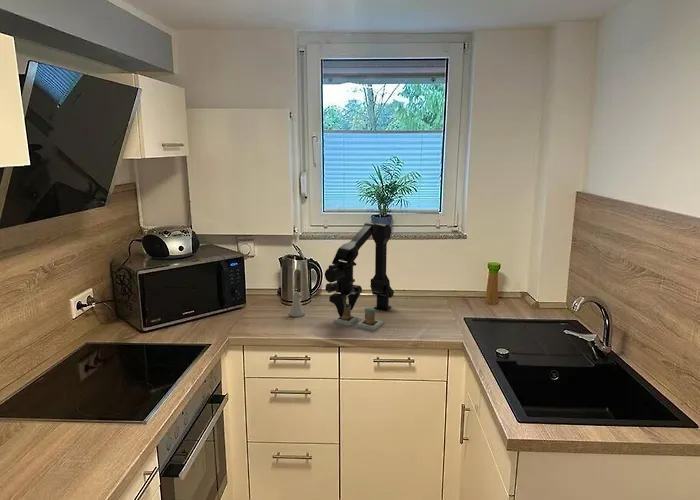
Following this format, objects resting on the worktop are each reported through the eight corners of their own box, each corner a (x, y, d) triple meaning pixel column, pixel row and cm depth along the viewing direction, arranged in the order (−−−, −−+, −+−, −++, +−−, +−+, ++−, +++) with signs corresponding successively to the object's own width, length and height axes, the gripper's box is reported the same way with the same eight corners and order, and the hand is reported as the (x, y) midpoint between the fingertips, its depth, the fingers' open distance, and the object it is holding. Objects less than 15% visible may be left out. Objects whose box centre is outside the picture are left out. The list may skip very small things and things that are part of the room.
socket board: (343, 317, 221) (343, 312, 220) (385, 325, 212) (385, 319, 212) (329, 326, 210) (329, 320, 210) (373, 335, 202) (373, 329, 201)
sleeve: (343, 318, 216) (343, 303, 215) (352, 320, 214) (352, 304, 213) (339, 322, 213) (339, 306, 211) (347, 323, 211) (348, 307, 209)
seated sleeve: (367, 323, 211) (367, 307, 210) (376, 325, 210) (376, 308, 208) (362, 326, 208) (363, 310, 206) (372, 328, 206) (372, 311, 204)
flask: (306, 312, 228) (306, 291, 226) (303, 317, 221) (303, 295, 219) (290, 311, 228) (290, 290, 226) (287, 317, 221) (286, 295, 219)
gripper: (339, 269, 221) (339, 304, 224) (317, 280, 205) (318, 316, 208) (362, 273, 216) (362, 308, 219) (342, 283, 200) (342, 321, 203)
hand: (345, 313), depth 213 cm, fingers open, 9 cm apart
